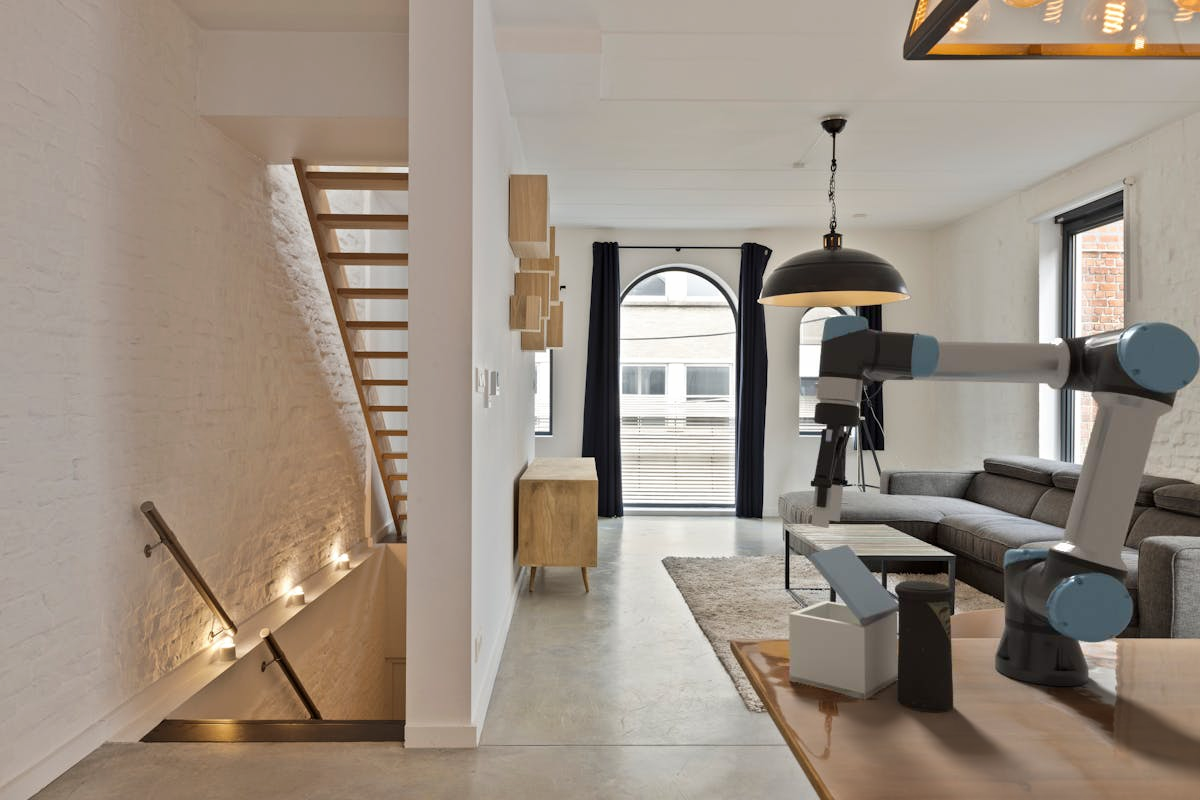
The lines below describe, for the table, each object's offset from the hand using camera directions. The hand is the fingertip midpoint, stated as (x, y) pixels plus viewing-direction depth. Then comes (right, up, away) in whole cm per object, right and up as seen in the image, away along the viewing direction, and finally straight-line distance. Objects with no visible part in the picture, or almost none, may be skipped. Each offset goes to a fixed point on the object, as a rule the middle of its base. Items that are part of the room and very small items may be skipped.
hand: (826, 523), depth 136 cm
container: (+14, -29, -8) cm, 33 cm away
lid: (+6, -12, +3) cm, 13 cm away
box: (+4, -29, +3) cm, 29 cm away
